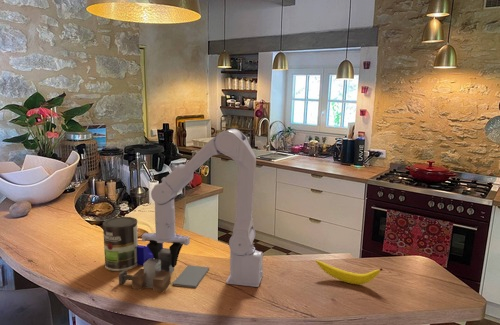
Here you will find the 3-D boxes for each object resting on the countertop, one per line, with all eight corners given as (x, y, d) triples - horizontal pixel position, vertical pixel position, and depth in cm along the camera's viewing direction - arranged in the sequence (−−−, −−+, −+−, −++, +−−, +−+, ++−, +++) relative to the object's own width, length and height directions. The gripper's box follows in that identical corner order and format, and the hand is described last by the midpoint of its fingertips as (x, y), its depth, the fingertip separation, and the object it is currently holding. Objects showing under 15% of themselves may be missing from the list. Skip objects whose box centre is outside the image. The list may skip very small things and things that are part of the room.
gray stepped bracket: (174, 270, 112) (173, 248, 111) (163, 281, 105) (163, 259, 104) (163, 269, 113) (163, 247, 112) (152, 280, 106) (151, 257, 105)
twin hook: (175, 267, 114) (174, 246, 113) (155, 288, 101) (155, 264, 100) (154, 265, 116) (153, 244, 114) (132, 285, 103) (131, 262, 102)
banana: (316, 273, 111) (316, 253, 110) (381, 287, 103) (383, 266, 102) (313, 277, 109) (314, 257, 108) (380, 292, 101) (382, 270, 100)
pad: (209, 269, 113) (209, 267, 113) (195, 288, 102) (195, 286, 102) (188, 266, 115) (188, 265, 115) (172, 285, 103) (172, 283, 103)
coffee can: (124, 273, 110) (122, 228, 108) (97, 267, 114) (94, 224, 111) (145, 260, 119) (144, 218, 117) (120, 255, 123) (118, 215, 121)
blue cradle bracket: (151, 249, 128) (150, 233, 127) (163, 251, 127) (162, 234, 126) (131, 263, 117) (130, 246, 116) (144, 265, 115) (143, 247, 114)
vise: (170, 283, 104) (170, 271, 104) (162, 292, 99) (162, 280, 99) (126, 278, 107) (126, 266, 106) (117, 286, 102) (116, 274, 102)
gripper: (136, 224, 106) (137, 268, 108) (183, 228, 103) (183, 273, 105) (147, 217, 113) (149, 258, 115) (191, 220, 110) (192, 263, 112)
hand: (166, 264), depth 111 cm, fingers open, 4 cm apart
